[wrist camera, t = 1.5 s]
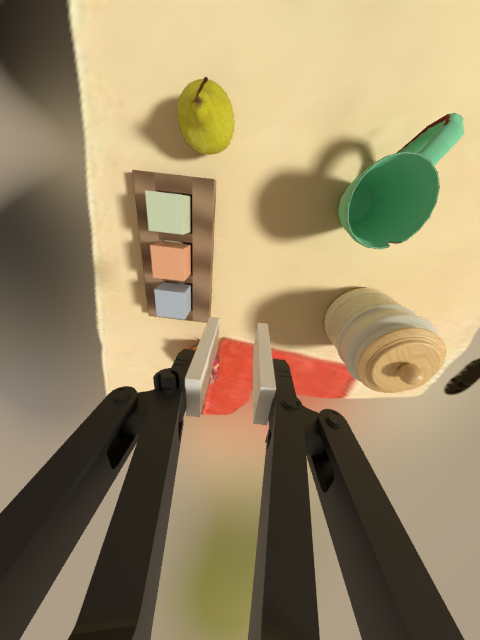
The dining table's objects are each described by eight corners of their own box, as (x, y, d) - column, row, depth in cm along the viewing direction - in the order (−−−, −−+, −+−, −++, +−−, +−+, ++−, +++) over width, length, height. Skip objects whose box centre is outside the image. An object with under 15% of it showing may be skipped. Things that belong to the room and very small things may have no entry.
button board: (138, 171, 33) (132, 169, 31) (216, 181, 33) (214, 179, 31) (152, 311, 44) (148, 315, 42) (210, 318, 44) (208, 322, 42)
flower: (209, 326, 43) (181, 354, 38) (240, 358, 44) (216, 389, 39) (195, 338, 51) (170, 362, 46) (221, 365, 52) (200, 391, 47)
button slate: (163, 282, 38) (154, 289, 35) (190, 285, 38) (184, 292, 35) (165, 307, 41) (156, 316, 37) (190, 310, 41) (184, 319, 37)
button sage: (157, 192, 32) (145, 190, 28) (189, 196, 32) (182, 194, 28) (159, 228, 34) (148, 230, 31) (190, 232, 34) (183, 234, 31)
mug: (353, 250, 36) (385, 264, 27) (309, 215, 34) (329, 218, 25) (432, 162, 30) (506, 142, 21) (384, 112, 28) (445, 68, 19)
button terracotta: (160, 241, 35) (150, 245, 31) (190, 244, 35) (183, 248, 31) (162, 271, 37) (153, 277, 34) (190, 274, 37) (184, 281, 34)
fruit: (193, 163, 32) (163, 141, 21) (181, 102, 29) (139, 39, 18) (239, 155, 31) (231, 127, 20) (231, 91, 28) (218, 18, 17)
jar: (393, 334, 43) (472, 405, 28) (328, 351, 46) (367, 424, 30) (389, 276, 38) (485, 323, 22) (316, 298, 41) (356, 355, 25)
